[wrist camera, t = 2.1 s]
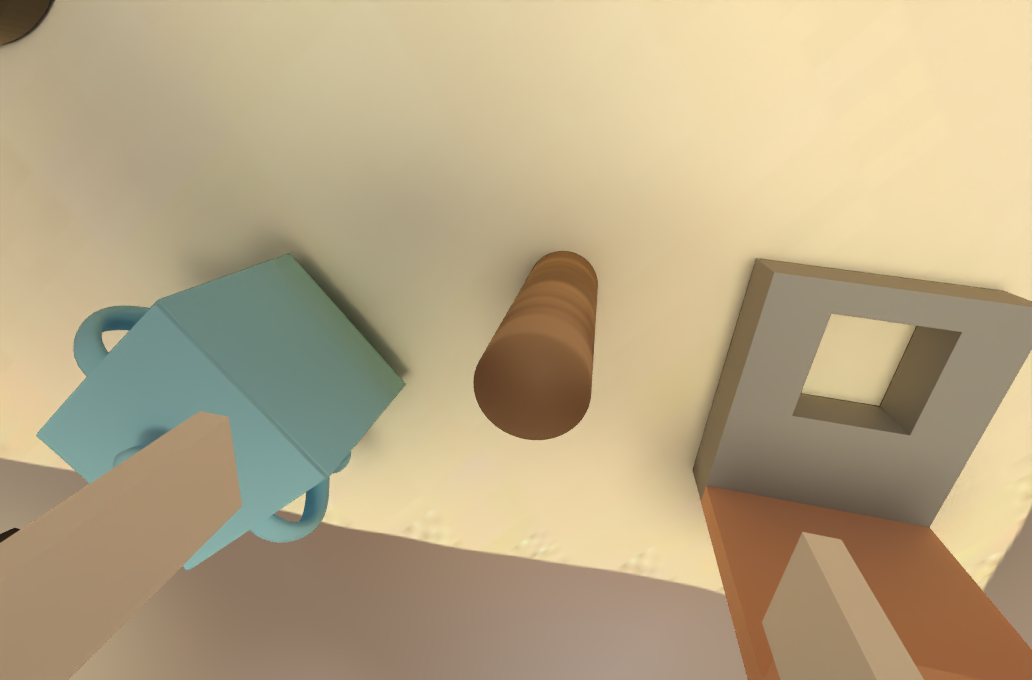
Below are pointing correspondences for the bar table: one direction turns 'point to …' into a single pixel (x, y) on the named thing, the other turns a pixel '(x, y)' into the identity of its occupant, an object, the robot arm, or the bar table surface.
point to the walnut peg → (542, 352)
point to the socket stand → (860, 458)
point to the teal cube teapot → (231, 390)
